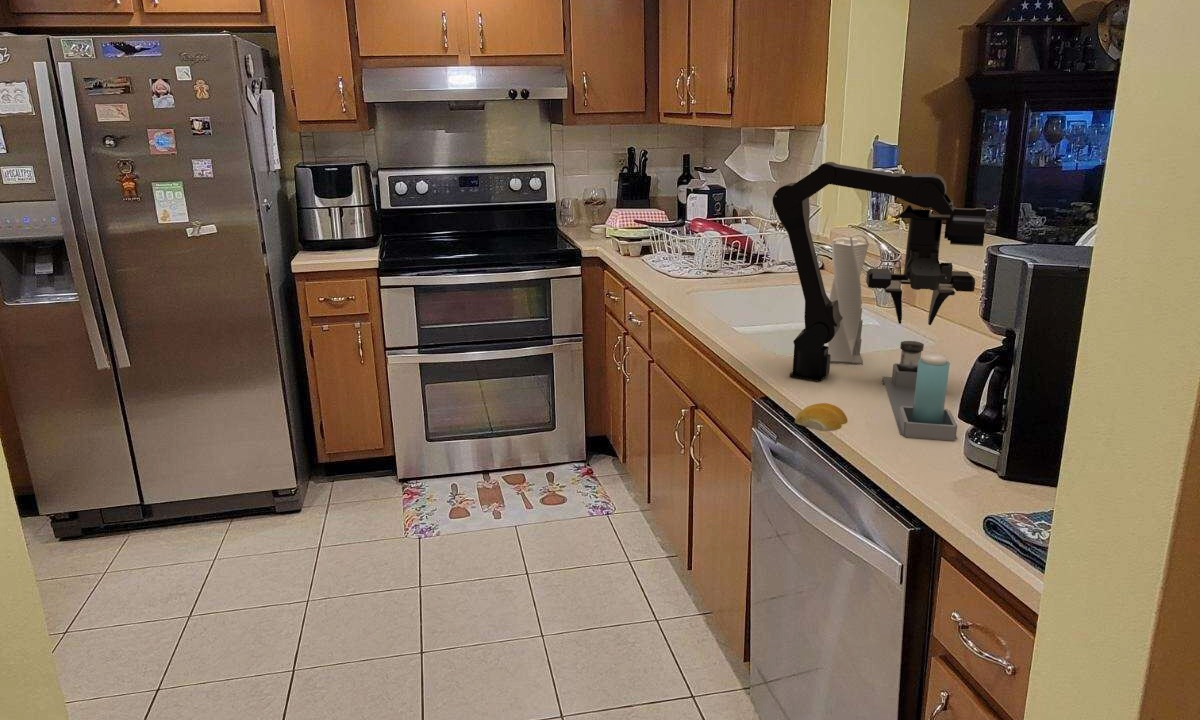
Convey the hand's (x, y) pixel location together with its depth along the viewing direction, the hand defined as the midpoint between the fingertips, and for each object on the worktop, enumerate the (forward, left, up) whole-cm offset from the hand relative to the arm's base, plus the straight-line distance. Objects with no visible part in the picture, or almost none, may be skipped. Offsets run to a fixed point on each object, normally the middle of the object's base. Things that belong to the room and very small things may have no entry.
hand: (914, 323), depth 160 cm
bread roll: (-9, -28, -14) cm, 32 cm away
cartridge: (+7, -23, -12) cm, 27 cm away
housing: (+4, -12, -13) cm, 18 cm away
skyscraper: (-16, +12, -13) cm, 24 cm away
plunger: (0, 0, -10) cm, 10 cm away
